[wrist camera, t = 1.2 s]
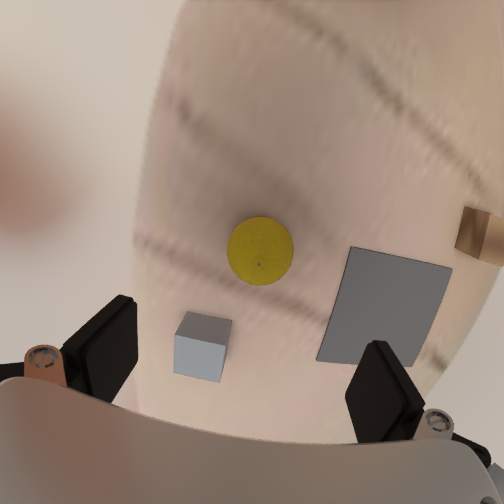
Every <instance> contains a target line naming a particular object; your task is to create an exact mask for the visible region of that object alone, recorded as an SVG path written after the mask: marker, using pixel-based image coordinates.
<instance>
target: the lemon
mask: <svg viewBox="0 0 504 504" xmlns="http://www.w3.org/2000/svg"><path fill="white" fill-rule="evenodd" d="M293 249H294V248H293V243H292V238H291V237H290V235H289V233H288V231H287V230H286V229H285V227H284V226H283V225H282V224H280V223H279V222H277V221H276V220H274V219H271V218H268V217H253V218H250V219H247V220H245V221H243V222H242V223H241V224H239V225H238V226H237V227H236V228H235V230H234V231H233V232H232V234H231V236H230V239H229V241H228V247H227V255H228V261H229V264H230V266H231V268H232V270H233V271H234V273H235V274H236V275H237V276H238V277H239V278H240V279H241V280H243V281H245V282H247V283H249V284H253V285H268V284H271V283H274V282H275V281H277V280H279V279H280V278H281V277H282V276H283V275H284V274H285V273H286V272H287V270H288V269H289V267H290V265H291V262H292V259H293Z"/></svg>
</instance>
